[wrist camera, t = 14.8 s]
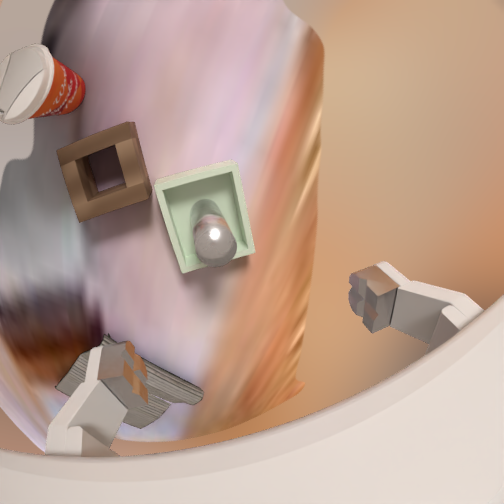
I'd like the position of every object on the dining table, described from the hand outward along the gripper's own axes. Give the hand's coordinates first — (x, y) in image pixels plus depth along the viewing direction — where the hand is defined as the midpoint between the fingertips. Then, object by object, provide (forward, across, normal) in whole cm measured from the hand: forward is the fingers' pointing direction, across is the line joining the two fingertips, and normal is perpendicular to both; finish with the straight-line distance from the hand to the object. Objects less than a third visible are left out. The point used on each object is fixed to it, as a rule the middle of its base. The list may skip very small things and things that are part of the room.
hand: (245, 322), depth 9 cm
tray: (+29, 0, +6) cm, 29 cm away
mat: (+28, +26, +36) cm, 52 cm away
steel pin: (+28, 0, +6) cm, 28 cm away
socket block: (+29, +10, -3) cm, 31 cm away
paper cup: (+30, +14, -15) cm, 36 cm away
